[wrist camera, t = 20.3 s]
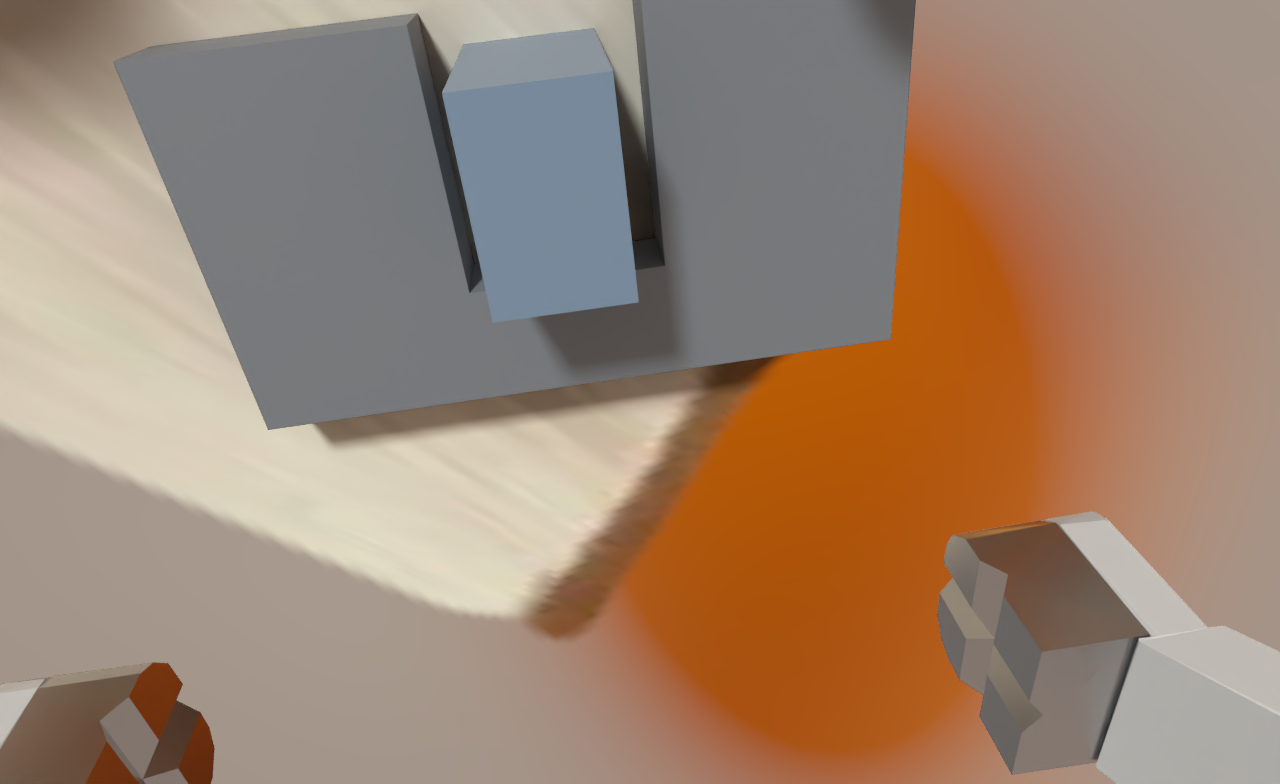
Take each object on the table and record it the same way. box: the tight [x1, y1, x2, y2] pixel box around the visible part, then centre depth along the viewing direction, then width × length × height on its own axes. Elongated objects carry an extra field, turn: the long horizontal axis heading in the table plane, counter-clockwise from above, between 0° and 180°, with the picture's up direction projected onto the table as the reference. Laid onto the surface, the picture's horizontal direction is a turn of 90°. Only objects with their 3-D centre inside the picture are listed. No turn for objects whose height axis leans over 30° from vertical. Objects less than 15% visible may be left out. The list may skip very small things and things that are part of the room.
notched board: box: [113, 0, 916, 430], centre depth 26 cm, size 22×12×2 cm, turn 96°
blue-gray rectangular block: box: [442, 28, 639, 323], centre depth 23 cm, size 4×6×7 cm, turn 6°
